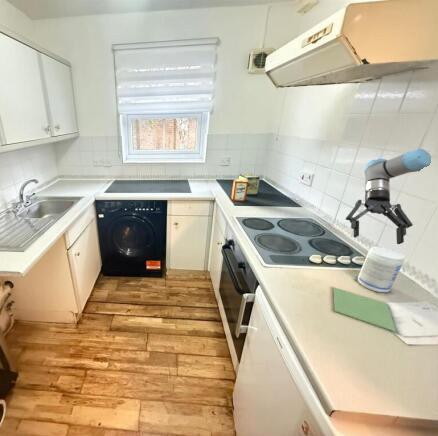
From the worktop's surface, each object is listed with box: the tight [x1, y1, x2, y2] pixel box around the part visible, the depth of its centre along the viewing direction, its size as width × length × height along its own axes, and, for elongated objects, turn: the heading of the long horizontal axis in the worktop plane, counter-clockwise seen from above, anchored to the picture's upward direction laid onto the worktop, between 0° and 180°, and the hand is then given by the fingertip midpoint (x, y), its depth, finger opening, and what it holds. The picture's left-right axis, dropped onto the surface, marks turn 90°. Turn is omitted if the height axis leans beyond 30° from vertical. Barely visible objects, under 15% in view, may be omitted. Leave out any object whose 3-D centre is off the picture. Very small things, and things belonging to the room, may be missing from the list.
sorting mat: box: [333, 287, 397, 333], centre depth 81 cm, size 15×14×1 cm
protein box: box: [238, 173, 261, 197], centre depth 202 cm, size 10×16×16 cm
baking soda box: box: [230, 178, 248, 202], centre depth 185 cm, size 10×6×16 cm
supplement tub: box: [357, 245, 406, 293], centre depth 89 cm, size 10×10×15 cm
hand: (377, 239), depth 94 cm, fingers open, 13 cm apart
